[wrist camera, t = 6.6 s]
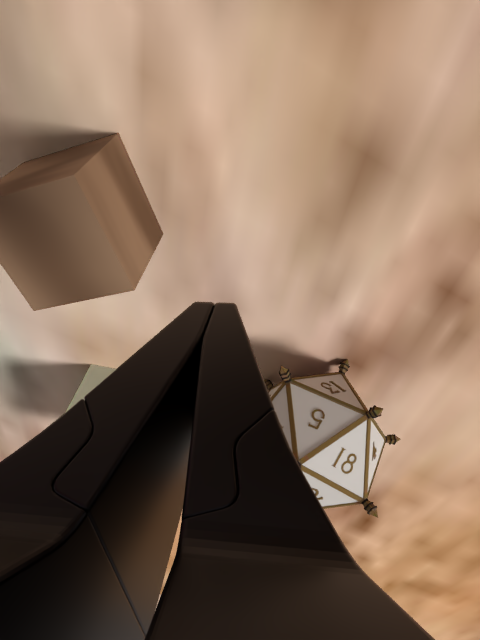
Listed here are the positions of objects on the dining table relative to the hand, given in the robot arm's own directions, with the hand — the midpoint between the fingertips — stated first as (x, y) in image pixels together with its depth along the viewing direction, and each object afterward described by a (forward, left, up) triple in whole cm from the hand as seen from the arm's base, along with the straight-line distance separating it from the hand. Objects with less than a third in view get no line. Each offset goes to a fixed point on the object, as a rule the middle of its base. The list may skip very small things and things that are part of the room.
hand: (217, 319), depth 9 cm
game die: (-3, +15, -13) cm, 20 cm away
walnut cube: (+8, +3, -13) cm, 15 cm away
